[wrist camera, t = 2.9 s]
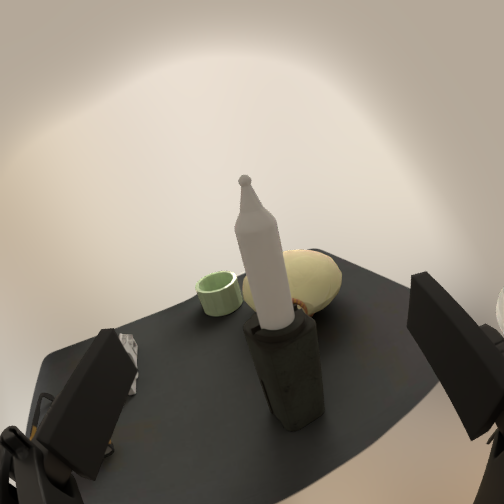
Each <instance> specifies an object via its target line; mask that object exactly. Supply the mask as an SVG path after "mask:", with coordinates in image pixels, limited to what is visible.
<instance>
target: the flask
mask: <svg viewBox="0 0 504 504" xmlns="http://www.w3.org/2000/svg"><path fill="white" fill-rule="evenodd" d="M283 257H284V262H285V267H286V272H287V277H288V282H289V287H290V293H291V298H292V303H293V304H296V305H297V308H298V309H301V308H302V309H303V311H304V313H305V314H307V315H308V316H310V317H312V316H313V315H314V313H316V312H318V311H320V310H322V309H323V308H325V307H326V306H327V305H328V304H330V302H331V301H332V300H333V299H334V298H335V296H336V295H337V294H338V292H339V289H340V286H341V278H342V273H341V271H340V270H339V268H338V266H337V265H336V263H335V262H334V261H333V260H332V258H331V257H329V256H327V255H324V254H322V253H320V252H315V251H310V250H289V251H285V252H283ZM242 290H243V299H244V300H245V301H246V303H247V304H248V305H249V306H250V307H251V308H252V309H253V310H254V311H255V312H256V308H255V305H254V301H253V297H252V294H251V290H250V286H249V282H248V279H247V275H246V277H245V279H244V281H243V287H242Z"/></svg>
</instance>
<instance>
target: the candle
mask: <svg viewBox="0 0 504 504" xmlns="http://www.w3.org/2000/svg"><path fill="white" fill-rule="evenodd" d="M238 182H239V184H240V186H241V202H240V213H239V216H238V219H237V221H236V224H235V233H236V237H237V240H238V245H239V249H240V252H241V256H242V260H243V263H244V267H245V271H246V275H247V279H248V282H249V286H250V290H251V294H252V297H253V301H254V305H255V308H256V312H255V313H254V314H253V316H252V317H251V319H250V320H248V321H247V322H246V323H245V324H244V326H243V331H244V334H245V337H246V340H247V343H248V346H249V349H250V352H251V355H252V358H253V361H254V364H255V367H256V370H257V373H258V376H259V379H260V382H261V385H262V388H263V391H264V394H265V397H266V400H267V403H268V406H269V409H270V411H271V413H272V414H273V413H274V414H275V415H276V417H277V418H278V419H279V420H280V421H281V422H282V424H283V427H284V428H285V429H286V430H288V431H297V430H299V429H301V428H303V427H304V426H306V425H307V424H309V423H310V422H312V421H313V420H315V419H316V418H318V417H319V416H321V415H322V414H323V412H324V410H325V407H324V395H323V384H322V373H321V364H320V354H319V345H318V337H317V329H316V322H315V320H314V319H313V318H311V317H310V316H308V315H307V314H305V313H304V311H303V309H302V308H301V309H298V308H297V305H296V304H293V303H292V298H291V293H290V287H289V282H288V277H287V272H286V267H285V262H284V257H283V252H282V247H281V242H280V237H279V232H278V227H277V222H276V220H275V218H274V217H273V215H272V214H271V213H270V212H269V211H267V210H266V209H265V208H264V207H263V206H262V204H261V202H260V200H259V199H258V197H257V195H256V193H255V191H254V190H253V188H252V186H251V178H250V177H249V176H247V175H242V176H241V177H240V179H239V181H238Z"/></svg>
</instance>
